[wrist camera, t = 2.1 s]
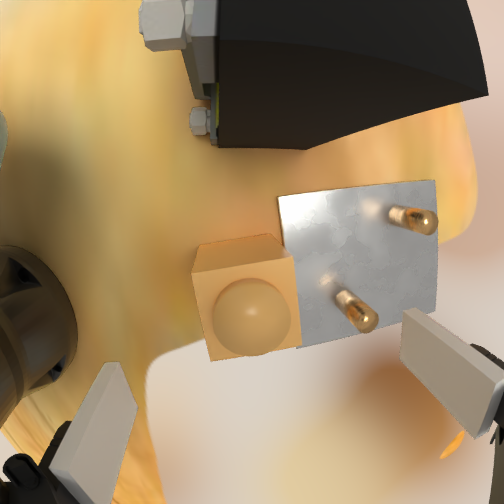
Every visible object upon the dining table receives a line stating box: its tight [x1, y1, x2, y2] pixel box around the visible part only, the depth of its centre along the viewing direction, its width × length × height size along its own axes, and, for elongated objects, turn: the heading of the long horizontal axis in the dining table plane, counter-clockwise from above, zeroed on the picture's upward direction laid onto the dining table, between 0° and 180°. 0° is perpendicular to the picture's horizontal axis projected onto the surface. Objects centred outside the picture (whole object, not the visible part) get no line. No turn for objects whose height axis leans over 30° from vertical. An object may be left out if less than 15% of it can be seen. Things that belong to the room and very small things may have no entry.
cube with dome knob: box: [191, 234, 302, 361], centre depth 22 cm, size 6×6×10 cm
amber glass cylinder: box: [335, 290, 379, 333], centre depth 25 cm, size 2×2×5 cm
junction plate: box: [277, 180, 438, 349], centre depth 28 cm, size 16×14×1 cm
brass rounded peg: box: [389, 205, 438, 236], centre depth 24 cm, size 2×2×5 cm
